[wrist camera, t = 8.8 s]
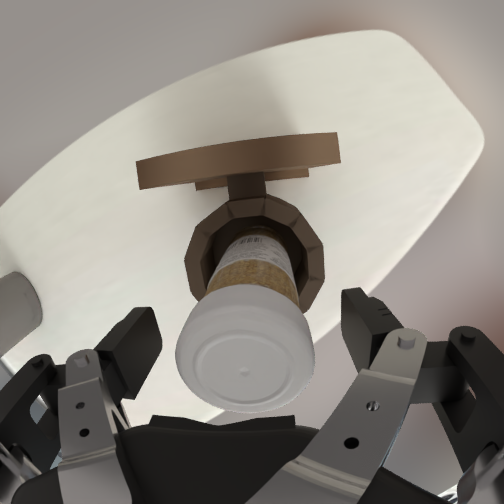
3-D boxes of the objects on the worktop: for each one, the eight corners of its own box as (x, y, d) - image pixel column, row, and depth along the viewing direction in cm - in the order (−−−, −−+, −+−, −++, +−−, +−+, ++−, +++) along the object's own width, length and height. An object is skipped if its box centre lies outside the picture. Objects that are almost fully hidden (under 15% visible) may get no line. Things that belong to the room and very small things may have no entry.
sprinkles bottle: (231, 283, 22) (189, 416, 9) (224, 225, 20) (155, 312, 8) (290, 279, 21) (314, 414, 8) (286, 220, 20) (318, 303, 7)
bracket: (213, 285, 27) (179, 359, 16) (193, 158, 24) (134, 147, 12) (315, 275, 26) (346, 346, 15) (303, 144, 23) (334, 117, 12)
